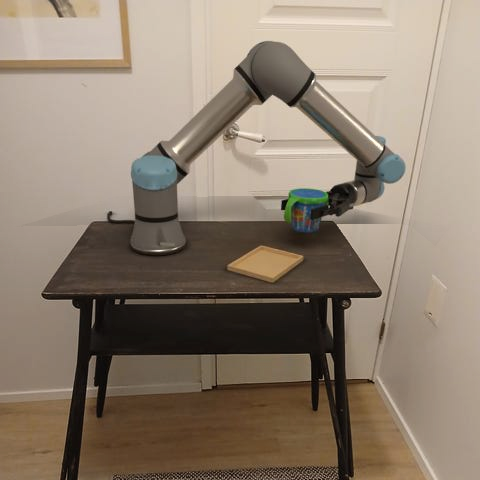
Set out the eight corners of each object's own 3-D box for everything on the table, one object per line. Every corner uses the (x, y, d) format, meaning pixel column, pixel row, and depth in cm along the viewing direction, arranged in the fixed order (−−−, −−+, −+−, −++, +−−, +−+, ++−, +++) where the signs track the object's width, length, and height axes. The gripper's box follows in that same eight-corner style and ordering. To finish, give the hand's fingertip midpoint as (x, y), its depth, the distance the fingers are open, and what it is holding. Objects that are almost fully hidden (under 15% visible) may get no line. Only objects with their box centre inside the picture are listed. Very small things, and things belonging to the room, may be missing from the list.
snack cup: (313, 219, 144) (317, 184, 139) (338, 229, 136) (343, 193, 131) (271, 228, 136) (273, 192, 131) (295, 239, 129) (298, 202, 123)
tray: (227, 270, 124) (227, 265, 123) (260, 249, 137) (261, 245, 136) (272, 282, 118) (273, 278, 117) (303, 260, 131) (303, 255, 130)
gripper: (376, 217, 139) (328, 234, 125) (315, 199, 153) (266, 213, 139) (381, 191, 135) (331, 205, 122) (318, 175, 149) (267, 187, 135)
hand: (296, 210), depth 130 cm, fingers closed on snack cup, 10 cm apart
